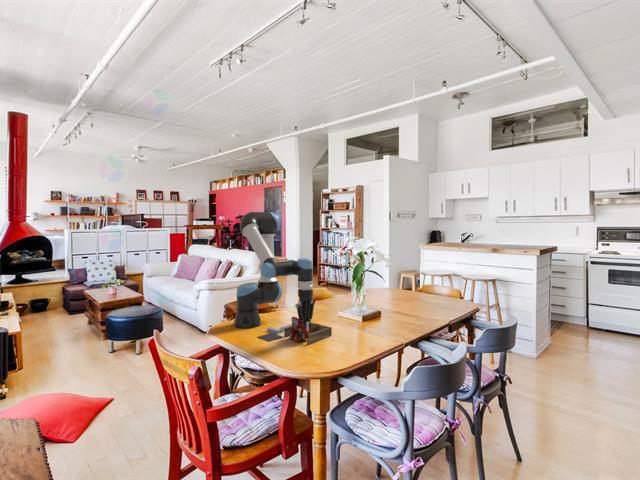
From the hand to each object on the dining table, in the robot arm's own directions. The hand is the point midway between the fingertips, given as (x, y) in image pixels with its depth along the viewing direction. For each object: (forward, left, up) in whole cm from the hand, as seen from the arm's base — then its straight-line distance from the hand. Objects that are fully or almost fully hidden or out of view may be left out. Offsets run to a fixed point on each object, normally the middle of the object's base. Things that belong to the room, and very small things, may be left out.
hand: (305, 334), depth 184 cm
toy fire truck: (0, -4, -2) cm, 5 cm away
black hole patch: (-14, -12, -2) cm, 18 cm away
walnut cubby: (0, +1, -2) cm, 2 cm away
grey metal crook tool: (-14, +3, -2) cm, 15 cm away
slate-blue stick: (-19, -5, -2) cm, 20 cm away
